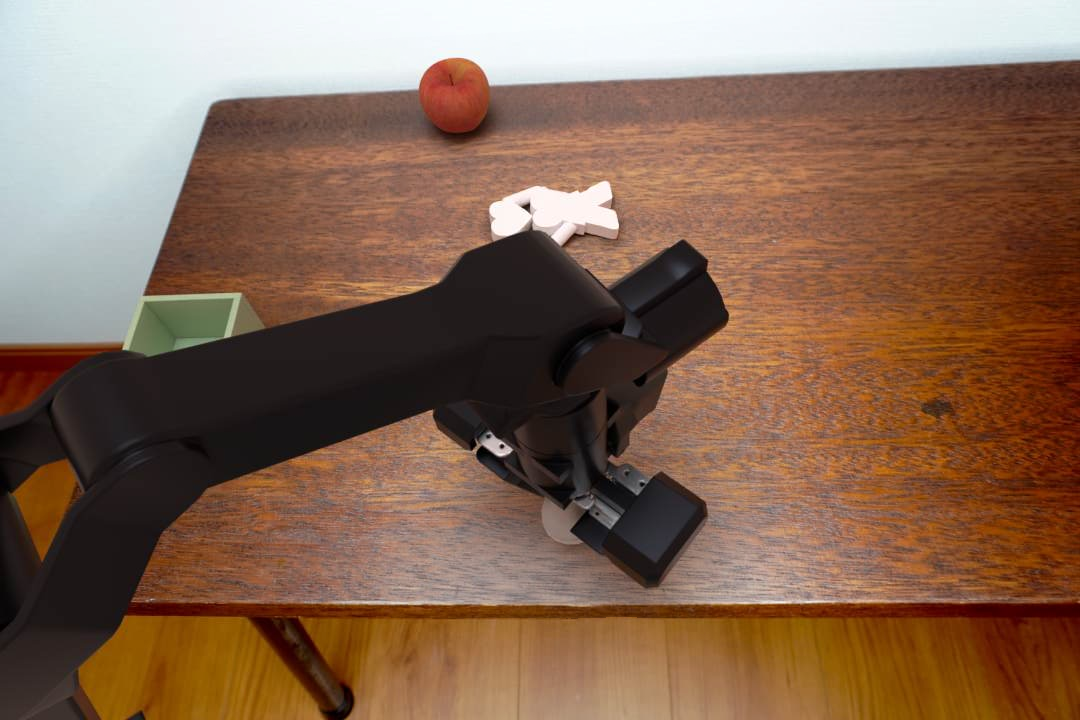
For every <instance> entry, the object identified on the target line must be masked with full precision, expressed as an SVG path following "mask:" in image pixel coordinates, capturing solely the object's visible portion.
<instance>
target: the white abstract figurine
mask: <svg viewBox="0 0 1080 720" xmlns="http://www.w3.org/2000/svg"><path fill="white" fill-rule="evenodd" d="M612 201H613V192H612V188H611V184H610V182H609V181H607V180H604V181H601V182H598V183H597V184H594V185H592V186H590V187H588V188H587V189H586V190H584V191H582V192H580V191H579V189H577V190H575V191H573V192H570V193H569V192H566V191H562V190H556V189H550V188H548V187H547V186H540V185H534V186H532V187H529V188H526V189H523V190H520V191H519V192H516V193H513V194H510V195H507V196H505V197H503V198H502V199H501V200H499V201H494V202H493V203H491V204H490V205H489V211H488V212H489V214H488V215H489V223H490V230H491V231H490V233H491V235H490V236H491V240H492V242H494V241H496V240H499V239H502V238H505V237H507V236H510V235H513V234H516V233H519V232H523V231H527V230H531V228H532V230H540V231H543V232H546V233H547V234H548V235H549V236H550V237H552V238H553V239H554V240H555V241H556V242H557V243H558V244H559V245H560V246H561V247H562V246H563V245H564V244H565V243H566V242H567V241H568V240H569V239H570V238H571V237H572V236H573V235H574V234H577V235H581V236H582V235H583V236H585V233H587V234H589V235H595V236H599V237H602V238H606V239H608V240H616V239H618V235H619V230H620V229H619V228H620V226H619V220H618V216H617V212H616V210H614V209H611V208H612ZM527 205H529V206H530V207H529V211H527V210H526V209H525V208H523V207H525V206H527Z"/></svg>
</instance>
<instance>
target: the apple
mask: <svg viewBox="0 0 1080 720" xmlns="http://www.w3.org/2000/svg"><path fill="white" fill-rule="evenodd" d="M418 99H419V102H420V103H419V104H420V106H421V108H422V110H423V112H424V114H425V115H426V117H427V118H428V120H429V121H430V122H431V123H432V124H433V125H434V126H436V127H437V128H439V129H440V130H442V131H444V132H447V133H452V134H460V133H468V132H471V131H474V130H475V129H476V128H477V127H478V126H479V125H480V124H481V123H482V121H483V120H484V118H485V116H486V114H487V112H488V109H489V106H490V102H491V101H490V100H491V89H490V84H489V80H488V78H487V75H486V73H485V72H484V70H483V69H482V67H481V66H480V65H479V64H478V63H476V62H475V61H473V60H471V59H468V58H464V57H448V58H444V59H441V60H438V61H436V62H434V63H433V64H432V65H430V66H429V67H428V68H427V69H426V71H424V73H423V74H422V76H421V78H420V80H419V85H418Z"/></svg>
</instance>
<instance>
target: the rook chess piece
mask: <svg viewBox="0 0 1080 720" xmlns="http://www.w3.org/2000/svg"><path fill="white" fill-rule="evenodd" d="M588 494H589V492H587V493H586V495H588ZM592 498H593V495H592V494H591V498H590V499H592ZM585 512H586V510H584V509H582V508H581V507H580V506H578V505H577V504H576V503H574V502H573V501H572V502H571V503H570V504H569V506H568V507H567V508H566V509H565V510H564V511H563V510H562V509H561V508H560V507H558V506H557V505H556V504H554V503H553V502H552V501H550V500H549V499H548V498H546V497H544V501H543V503H542V507H541V524H542V526H543V528H544V531H545V532H546V535H548V536H549V537H550V538H551V539H553V540H554V541H555V542H557V543H560V544H563V545H566V546H567V545H579V544H581V543H584V542H583V541H581V540H580V539H579V538H577V537H576V536H575V535H574V534H572V533H571V532H570V530H571V528H572V527H573V526H574V525H575V524H576V522H577V521H578V520H579V519H580V518H581V516H582V515H583V514H584V513H585Z"/></svg>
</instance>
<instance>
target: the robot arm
mask: <svg viewBox="0 0 1080 720" xmlns="http://www.w3.org/2000/svg"><path fill="white" fill-rule="evenodd" d="M708 265H709V259H708V258H707V257H706V256H705V255H704V254H702V253H701V252H700V251H699V250H697V248H695V246H693V245H692V244H691V243H690V242H689V241H688V240H686V239H685V238H681V240H678V241H677V242H676V243H674V244H673V245H671V246H668V247H666V248H664V249H662V250H661V251H659V252H657V253H656V254H654V255H652V256H651V257H649V259H647V260H645V261H644V262H643V263H641V264H639V265H637V267H634V269H632V270H631V271H629V272H627V273H626V274H624V275H623V276H622V277H620V278H619V279H617V280H616V281H614V282H612V283H611V284H609V285H608V286H606V285H604V283H603V282H601V281H600V279H598V278H597V276H595V275H594V274H593V273H592V272H591V271H590V270H589V269H588V268H585V267H583V266H582V264H580V263H579V262H578V261H577V260H576V259H575V258H573V256H572V255H570V253H569V252H568V251H566V250H565V249H564V248H563V247H562V246H560V245H559V244H558V243H557V242H556V241H555V240H554V239H553V238H552V237H551V236H549V235H548V234H547V233H546V232H543V231H540V230H533V229H529V230H527V231H523V232H519V233H516V234H513V235H510V236H507V237H505V238H502V239H499V240H496V241H491V242H489V243H486V244H483V245H480V246H477V247H475V248H472V249H470V250H469V249H468V250H467V251H465V252H462V253H461V254H460V255H459V257H458V258H456V260H455V261H454V262H453V264H452V265H451V266H450V267H449V269H448V270H447V271H446V272H445V274H444V275H443V276H442V278H440V280H439V281H438V282H436V283H435V284H433V285H430V286H428V287H427V286H426V287H425V288H422V289H419V290H416V291H414V292H411V293H406V294H403V295H398V296H394V297H390V298H386V299H381V300H378V301H373V302H369V303H364V304H361V305H357V306H353V307H352V306H351V307H348V308H344V309H340V310H335V311H332V312H327V313H323V314H319V315H314V316H310V317H306V318H302V319H298V320H294V321H291V322H286V323H282V324H278V325H273V326H269V327H265V329H261V330H256V331H252V332H248V333H244V334H240V335H236V336H232V337H227V338H223V339H219V340H215V341H211V342H207V343H202V344H198V345H194V346H190V347H186V348H182V349H178V350H173V351H169V352H165V353H161V354H157V355H153V356H148V357H147V356H146V355H144V354H143V353H138V352H134V351H129V350H122V349H118V350H108V351H102V352H99V353H96V354H94V355H90V356H89V357H86V358H83V359H81V360H80V361H78V362H77V363H75V364H74V365H73V366H71V367H70V368H68V369H67V370H66V371H64V372H63V373H62V374H61V375H60V376H58V377H57V378H56V379H55V381H53V382H52V383H51V385H49V386H48V387H47V388H46V389H45V390H44V391H43V392H42V393H41V394H39V395H38V397H37V398H35V399H34V400H33V401H32V402H31V403H30V404H29V405H28V406H27V407H25V408H22V409H19V410H15V411H12V412H9V413H6V414H3V415H0V720H103V719H102V717H101V716H100V714H99V712H98V711H97V709H96V708H95V706H94V704H93V703H92V701H91V699H90V698H89V696H88V695H87V693H86V692H85V689H84V688H83V687H82V685H81V683H80V675H79V668H80V667H82V665H84V664H85V663H86V662H87V661H88V660H89V659H90V658H91V657H92V656H94V655H95V653H97V652H98V651H99V650H100V649H101V648H102V647H103V646H104V645H105V644H106V643H107V642H108V641H109V640H110V639H112V638H113V637H114V635H115V634H116V632H117V631H118V629H119V628H120V627H121V625H122V623H123V620H124V619H125V616H126V614H127V612H128V610H129V607H130V606H131V603H132V600H133V599H134V596H135V594H136V592H137V590H138V587H139V585H140V583H141V580H142V578H143V576H144V574H145V572H146V569H147V567H148V565H149V563H150V561H151V559H152V556H153V554H154V551H155V550H156V547H157V546H158V542H159V540H160V538H161V537H162V534H163V533H164V532H165V531H166V530H167V529H168V528H170V526H171V525H172V524H174V522H176V521H177V520H178V519H179V518H180V517H181V516H183V514H184V513H186V511H187V510H188V509H190V508H191V507H192V506H193V505H194V504H195V503H196V502H197V501H198V500H199V499H200V498H202V496H203V495H204V493H205V492H206V491H207V490H208V489H210V488H213V487H216V486H219V485H221V484H225V483H227V482H230V481H233V480H236V479H239V478H241V477H244V476H247V475H250V474H253V473H256V472H258V471H262V470H265V469H267V468H270V467H273V466H276V465H280V464H281V463H285V462H287V461H290V460H293V459H296V458H299V457H302V456H305V455H307V454H311V453H313V452H316V451H319V450H322V449H324V448H328V447H330V446H333V445H337V444H339V443H341V442H344V441H347V440H351V439H353V438H356V437H359V436H361V435H364V434H367V433H370V432H373V431H376V430H378V429H381V428H385V427H388V426H390V425H393V424H396V423H398V422H401V421H405V420H407V419H411V418H413V417H416V416H418V415H419V416H420V415H421V414H425V413H427V412H430V411H432V418H433V421H434V423H435V426H436V428H437V430H438V431H440V432H441V433H442V434H443V435H445V436H446V437H447V438H449V439H450V440H451V441H453V442H454V443H455V444H457V446H458V447H460V448H461V449H462V450H465V451H469V452H473V450H475V448H476V447H477V446H478V444H479V445H480V446H479V447H478V448H477V450H476V452H475V458H476V460H477V461H478V462H479V463H480V464H481V465H483V466H484V467H485V468H487V469H488V470H489V471H490V472H492V473H493V474H494V475H496V476H497V477H498V478H499V479H501V480H502V481H504V482H505V483H508V484H510V485H512V486H514V487H517V488H518V489H521V490H524V491H525V492H528V493H530V494H532V495H535V496H537V497H540V498H542V499H543V498H544V499H545V498H548V499H549V500H550V501H552V502H553V503H554V504H556V505H557V506H558V507H560V508H561V509H562V510H563V511H564V510H565V509H566V508H567V507H568V506H569V504H570V503H571V502H572V501H573V502H574V503H576V504H577V505H578V506H580V507H581V508H582V509H584V510H586V512H585V513H584V514H583V515H582V516H581V518H580V519H579V520H578V521H577V522H576V524H575V525H574V526H573V527H572V528H571V530H570V532H571V533H572V534H574V535H575V536H576V537H577V538H579V539H580V540H581V541H583V542H582V543H584V544H585V545H586V546H588V548H590V549H591V550H593V551H594V552H595V553H597V554H598V555H601V556H604V557H606V559H608V561H609V562H610V563H611V564H612V565H614V566H615V567H616V568H617V569H618V570H620V571H622V573H624V574H625V575H626V576H628V577H629V578H630V579H632V580H633V581H634V582H636V583H637V584H638V585H640V586H641V587H642V588H644V589H647V590H648V589H655V588H659V587H660V586H661V584H662V583H663V582H664V581H665V579H666V578H667V577H668V575H669V574H670V572H671V571H672V570H673V569H674V567H675V566H676V565H677V564H678V562H679V560H681V558H682V557H683V556H684V554H685V553H686V551H687V550H688V549H689V547H690V546H691V545H692V544H693V542H694V541H695V540H696V538H697V537H698V536H699V534H700V533H701V531H703V529H704V528H705V526H706V525H707V521H708V517H709V512H708V506H707V501H706V500H704V499H703V498H701V497H699V496H698V495H697V494H696V493H694V492H693V491H691V490H690V489H688V488H687V487H685V486H684V485H682V484H681V483H680V482H678V481H677V480H675V479H674V478H672V477H671V476H669V475H668V474H667V473H666V472H664V471H662V470H660V471H659V472H657V473H656V474H654V475H652V477H650V476H649V475H647V474H646V473H645V472H643V471H642V470H640V469H639V468H637V467H636V466H635V465H634V464H631V463H627V462H626V463H622V464H619V465H616V464H615V463H614V462H612V461H611V460H609V459H610V458H611V456H612V457H614V458H615V459H619V458H620V457H621V456H622V455H623V453H624V452H625V451H626V450H627V449H628V447H630V441H631V438H630V435H631V433H632V431H633V430H634V429H635V428H636V427H637V425H638V424H639V423H640V422H641V421H642V420H643V419H644V418H646V417H647V416H648V415H649V414H651V413H653V412H654V411H655V410H656V408H657V406H658V403H659V400H660V397H661V394H662V391H663V389H664V386H665V383H666V380H667V377H668V374H669V370H668V369H670V367H672V366H673V365H674V364H676V363H677V362H678V361H680V360H681V359H683V358H684V357H685V356H687V355H688V354H690V353H691V352H693V351H694V350H695V349H697V348H698V347H699V346H701V345H703V344H704V343H705V342H706V341H708V340H709V339H710V338H712V337H713V336H714V335H716V334H717V333H719V332H720V331H722V330H723V329H724V328H726V327H727V326H728V323H729V320H730V312H729V311H728V310H727V309H726V304H725V301H724V299H723V296H722V294H721V292H720V290H719V288H718V286H717V284H716V282H715V280H713V278H712V276H711V275H710V273H709V272H708V267H709V266H708ZM64 460H67V462H68V464H69V467H70V468H71V471H72V473H73V475H74V477H75V479H76V482H77V483H78V486H79V488H80V491H81V493H82V495H80V496H79V497H78V499H76V500H75V501H74V502H73V503H72V504H71V505H70V507H69V508H68V509H67V511H66V512H65V514H64V516H63V518H62V520H61V522H60V524H59V526H58V527H57V530H56V533H55V534H54V537H52V538H53V539H52V541H51V542H50V545H49V547H48V549H47V551H46V552H45V553H46V554H45V555H44V557H43V560H42V559H41V556H40V553H39V551H38V548H37V546H36V543H35V541H34V539H33V536H32V534H31V531H30V529H29V526H28V524H27V522H26V519H25V517H24V515H23V511H22V510H21V508H20V505H19V503H18V500H17V498H16V496H15V495H13V493H14V492H15V491H16V490H18V489H19V488H20V487H21V486H22V485H23V484H24V483H25V482H26V481H27V480H28V479H29V478H30V477H31V476H32V475H34V473H36V472H37V470H39V469H40V468H42V467H44V466H48V465H50V464H54V463H58V462H61V461H64ZM587 492H589V494H588V495H586V493H587ZM591 494H592V495H593V498H592V499H590V498H591ZM124 720H147V719H146V716H145V714H144V712H143V710H142V709H141V710H137V711H136V712H135V713H133V714H131V715H130V716H128V717H126V718H125V719H124Z"/></svg>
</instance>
